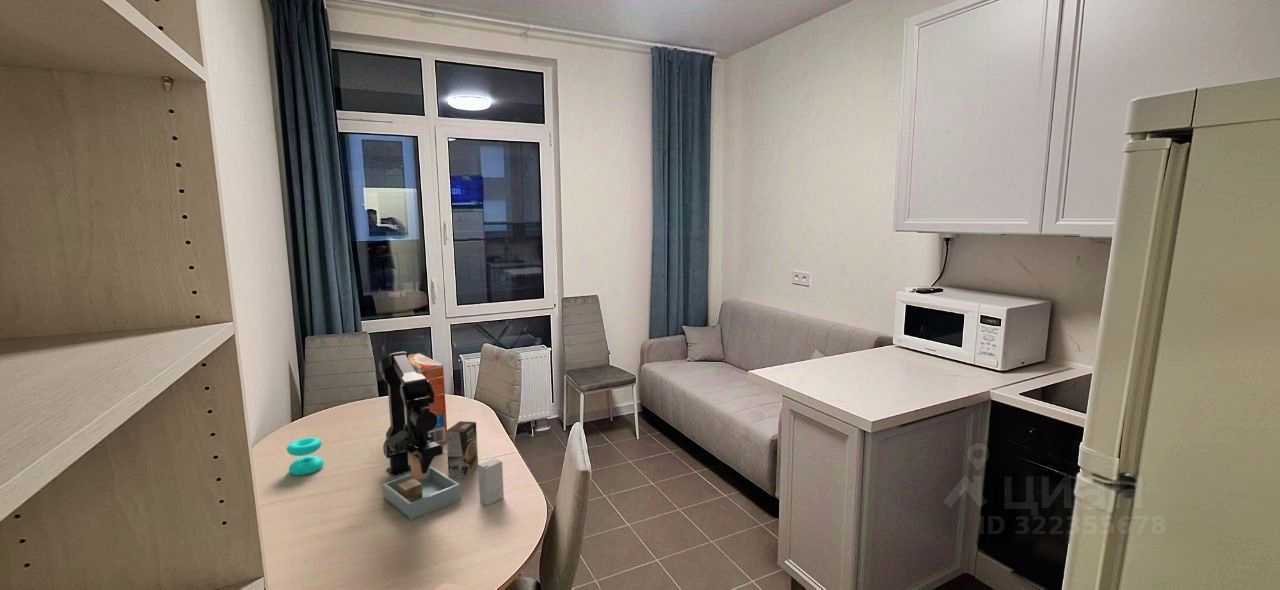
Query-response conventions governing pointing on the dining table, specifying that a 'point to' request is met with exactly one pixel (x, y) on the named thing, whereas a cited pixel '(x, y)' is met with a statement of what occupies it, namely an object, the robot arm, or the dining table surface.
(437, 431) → the pasta box
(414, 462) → the terracotta cylinder
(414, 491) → the walnut cube
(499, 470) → the skincare box
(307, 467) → the donuts
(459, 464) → the coffee box
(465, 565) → the dining table surface
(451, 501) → the tote
